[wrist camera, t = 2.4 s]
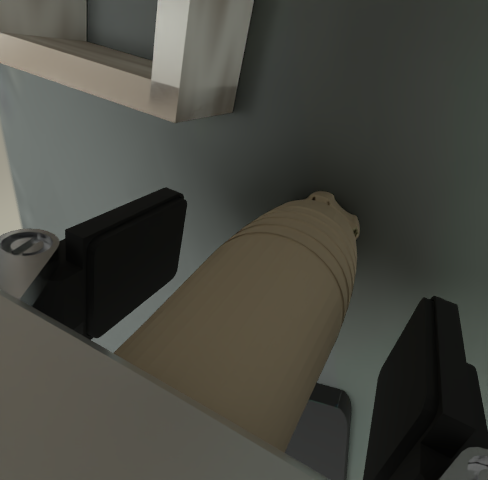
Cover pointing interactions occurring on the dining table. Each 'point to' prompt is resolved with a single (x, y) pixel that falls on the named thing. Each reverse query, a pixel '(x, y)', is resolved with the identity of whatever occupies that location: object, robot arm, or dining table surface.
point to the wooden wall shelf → (133, 67)
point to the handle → (257, 318)
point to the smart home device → (323, 433)
